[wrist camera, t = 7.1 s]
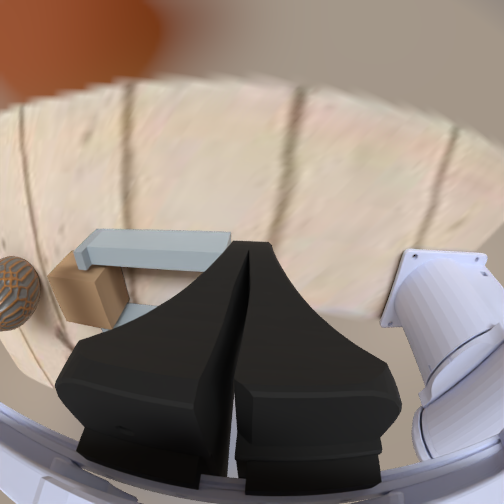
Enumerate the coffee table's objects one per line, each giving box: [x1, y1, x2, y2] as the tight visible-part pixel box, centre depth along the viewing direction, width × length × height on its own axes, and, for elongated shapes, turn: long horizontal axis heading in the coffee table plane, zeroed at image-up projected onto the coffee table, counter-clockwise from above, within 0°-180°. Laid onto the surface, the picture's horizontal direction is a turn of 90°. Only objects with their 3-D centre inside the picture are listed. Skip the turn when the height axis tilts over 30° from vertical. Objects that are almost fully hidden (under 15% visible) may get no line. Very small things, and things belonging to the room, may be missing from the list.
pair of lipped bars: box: [73, 229, 231, 332], centre depth 21 cm, size 11×9×4 cm
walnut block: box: [47, 251, 129, 330], centre depth 21 cm, size 5×5×4 cm
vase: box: [0, 256, 40, 331], centre depth 20 cm, size 7×7×9 cm
